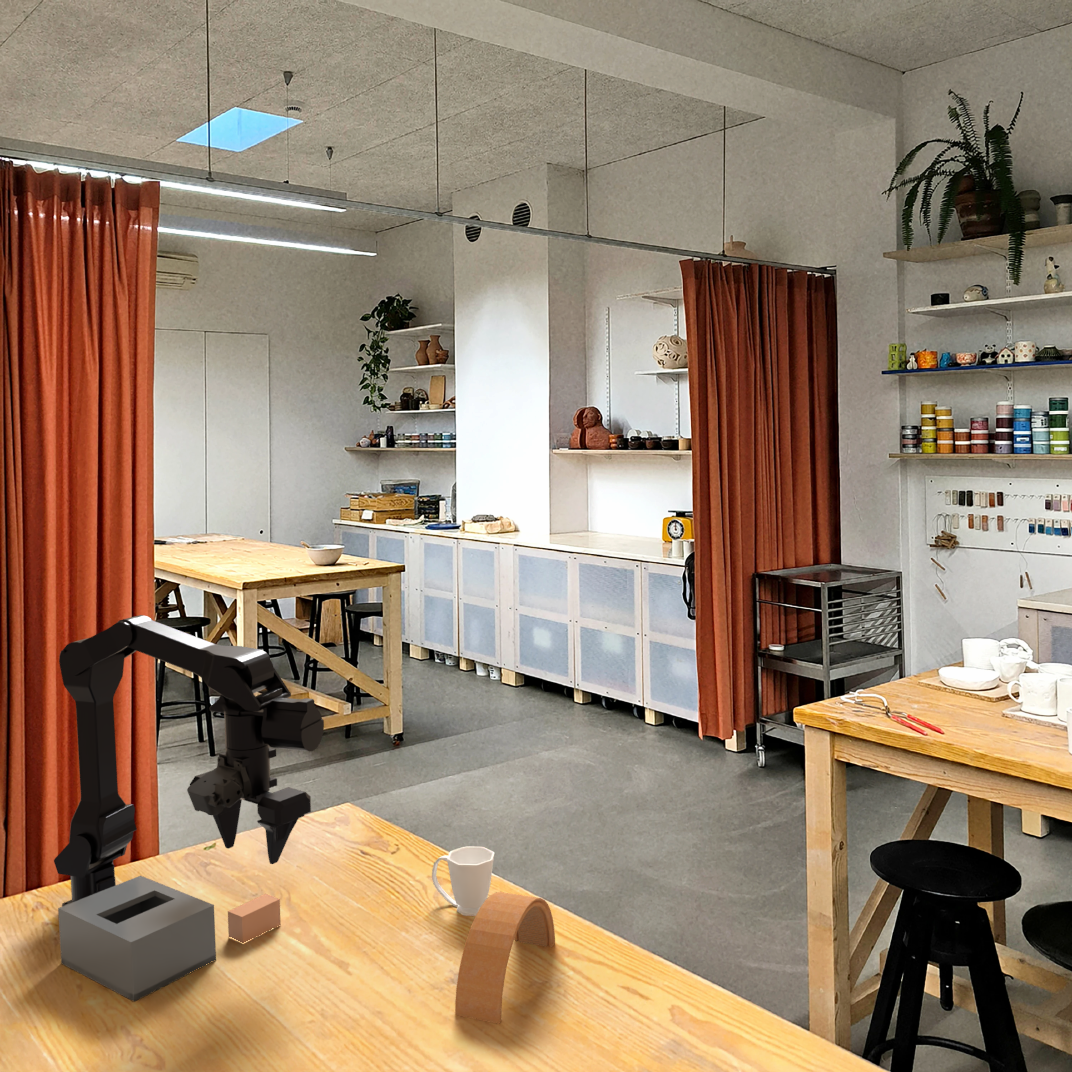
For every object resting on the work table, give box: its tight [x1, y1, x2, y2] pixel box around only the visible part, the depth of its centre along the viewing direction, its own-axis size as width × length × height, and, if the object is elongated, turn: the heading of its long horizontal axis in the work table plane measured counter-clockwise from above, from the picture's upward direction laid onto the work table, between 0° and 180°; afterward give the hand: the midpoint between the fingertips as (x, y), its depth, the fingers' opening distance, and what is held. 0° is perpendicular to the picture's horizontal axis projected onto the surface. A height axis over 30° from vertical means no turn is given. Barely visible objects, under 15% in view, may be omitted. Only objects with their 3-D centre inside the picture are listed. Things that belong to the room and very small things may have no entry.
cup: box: [431, 845, 495, 917], centre depth 149 cm, size 7×10×8 cm
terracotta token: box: [227, 893, 282, 943], centre depth 142 cm, size 3×6×4 cm, turn 145°
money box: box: [57, 875, 217, 1002], centre depth 134 cm, size 16×12×8 cm
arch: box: [454, 891, 556, 1024], centre depth 129 cm, size 6×20×10 cm, turn 159°
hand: (251, 855), depth 141 cm, fingers open, 9 cm apart
